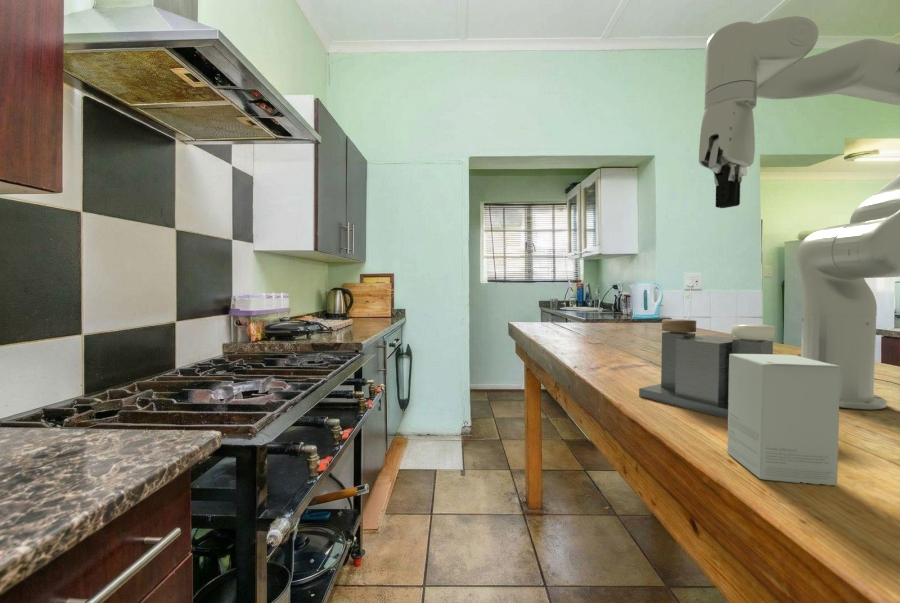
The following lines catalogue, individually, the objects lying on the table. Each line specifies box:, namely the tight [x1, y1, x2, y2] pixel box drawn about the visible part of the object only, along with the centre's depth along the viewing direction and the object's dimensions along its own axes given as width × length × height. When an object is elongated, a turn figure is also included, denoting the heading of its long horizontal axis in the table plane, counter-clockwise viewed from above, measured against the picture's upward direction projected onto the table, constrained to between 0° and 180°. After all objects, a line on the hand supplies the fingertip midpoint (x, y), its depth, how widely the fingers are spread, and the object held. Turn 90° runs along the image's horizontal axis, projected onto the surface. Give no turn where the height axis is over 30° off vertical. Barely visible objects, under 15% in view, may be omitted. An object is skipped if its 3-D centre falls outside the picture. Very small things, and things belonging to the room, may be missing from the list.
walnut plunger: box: [661, 318, 697, 334], centre depth 74 cm, size 6×6×12 cm
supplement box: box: [726, 354, 840, 486], centre depth 44 cm, size 7×7×13 cm
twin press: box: [638, 331, 774, 420], centre depth 69 cm, size 13×19×12 cm
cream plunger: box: [730, 323, 776, 342], centre depth 64 cm, size 6×6×12 cm
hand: (727, 206), depth 70 cm, fingers closed
